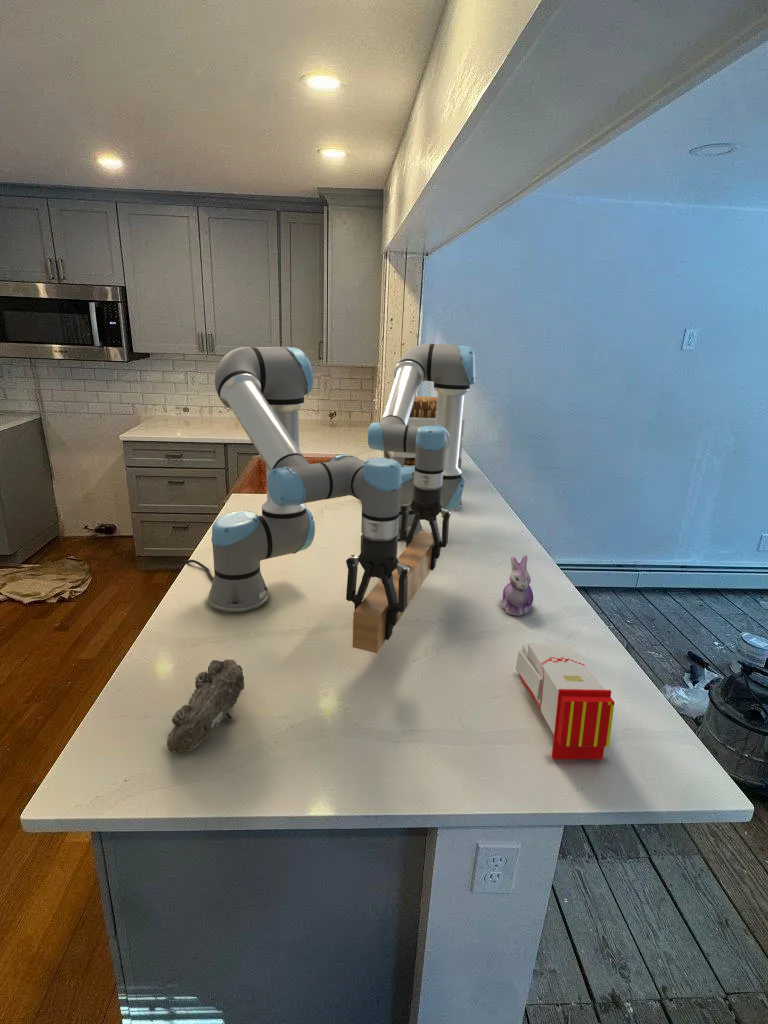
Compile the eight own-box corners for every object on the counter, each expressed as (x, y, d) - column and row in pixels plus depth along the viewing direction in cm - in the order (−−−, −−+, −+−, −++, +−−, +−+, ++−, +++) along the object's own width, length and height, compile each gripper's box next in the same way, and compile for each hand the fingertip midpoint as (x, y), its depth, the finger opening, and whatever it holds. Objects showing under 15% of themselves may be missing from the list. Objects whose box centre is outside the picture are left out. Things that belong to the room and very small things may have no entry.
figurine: (515, 620, 147) (523, 568, 141) (491, 602, 155) (497, 552, 150) (543, 613, 151) (551, 562, 146) (518, 596, 159) (525, 547, 154)
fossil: (192, 660, 117) (244, 628, 112) (224, 691, 120) (276, 661, 115) (142, 746, 98) (202, 712, 93) (182, 779, 101) (242, 748, 96)
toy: (564, 626, 126) (624, 698, 97) (558, 682, 129) (615, 767, 100) (510, 625, 126) (554, 696, 96) (506, 681, 128) (547, 766, 99)
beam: (418, 557, 163) (420, 530, 160) (436, 561, 161) (439, 533, 158) (352, 647, 118) (353, 612, 116) (377, 653, 117) (378, 617, 114)
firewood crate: (382, 463, 289) (386, 382, 275) (445, 464, 293) (451, 384, 279) (390, 482, 257) (394, 392, 243) (460, 483, 261) (468, 394, 247)
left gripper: (329, 533, 114) (328, 632, 122) (418, 549, 109) (410, 652, 117) (344, 521, 121) (342, 616, 129) (428, 536, 116) (420, 634, 124)
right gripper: (389, 485, 148) (385, 565, 156) (459, 495, 142) (451, 578, 150) (398, 477, 154) (394, 555, 162) (465, 487, 149) (457, 566, 157)
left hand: (374, 633), depth 123 cm, fingers closed on beam, 6 cm apart
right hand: (421, 565), depth 156 cm, fingers closed on beam, 6 cm apart
